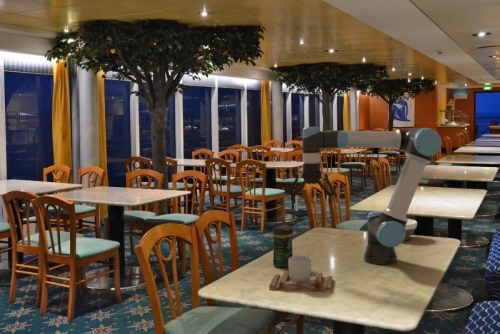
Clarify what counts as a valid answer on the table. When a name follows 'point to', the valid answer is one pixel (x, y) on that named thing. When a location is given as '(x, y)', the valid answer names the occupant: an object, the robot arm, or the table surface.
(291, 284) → the rack
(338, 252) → the table surface
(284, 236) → the coffee jar
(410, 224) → the bowl
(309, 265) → the mug
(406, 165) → the robot arm
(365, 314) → the table surface
